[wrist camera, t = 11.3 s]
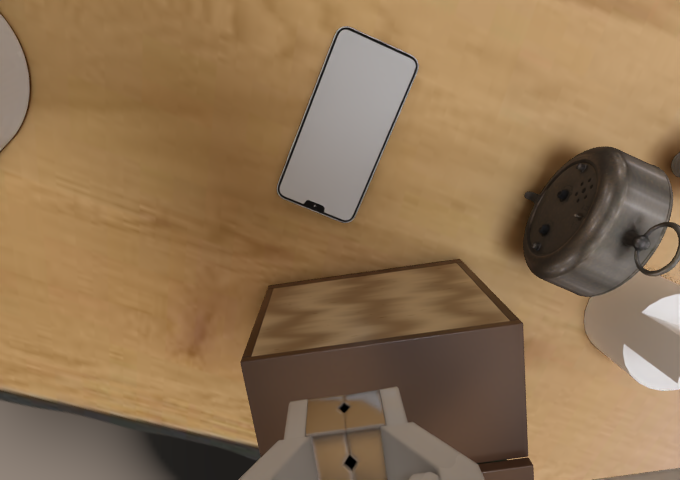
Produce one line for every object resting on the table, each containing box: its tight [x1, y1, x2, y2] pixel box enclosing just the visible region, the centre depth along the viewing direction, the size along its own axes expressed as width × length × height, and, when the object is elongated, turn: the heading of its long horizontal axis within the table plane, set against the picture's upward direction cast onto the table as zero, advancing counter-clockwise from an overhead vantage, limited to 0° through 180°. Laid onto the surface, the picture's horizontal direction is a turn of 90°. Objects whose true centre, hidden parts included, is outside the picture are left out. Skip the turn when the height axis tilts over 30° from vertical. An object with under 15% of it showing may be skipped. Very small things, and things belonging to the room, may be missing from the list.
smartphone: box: [277, 26, 419, 223], centre depth 38 cm, size 7×1×15 cm
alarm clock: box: [523, 147, 680, 297], centre depth 33 cm, size 11×5×16 cm, turn 157°
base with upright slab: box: [584, 271, 680, 391], centre depth 38 cm, size 9×9×12 cm
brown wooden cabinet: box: [241, 259, 534, 480], centre depth 36 cm, size 18×12×15 cm, turn 98°
